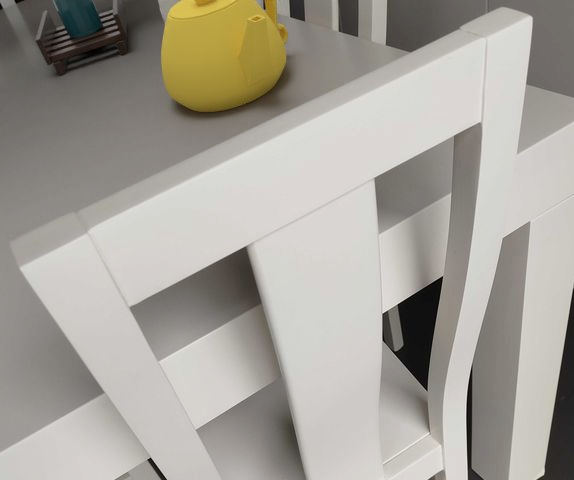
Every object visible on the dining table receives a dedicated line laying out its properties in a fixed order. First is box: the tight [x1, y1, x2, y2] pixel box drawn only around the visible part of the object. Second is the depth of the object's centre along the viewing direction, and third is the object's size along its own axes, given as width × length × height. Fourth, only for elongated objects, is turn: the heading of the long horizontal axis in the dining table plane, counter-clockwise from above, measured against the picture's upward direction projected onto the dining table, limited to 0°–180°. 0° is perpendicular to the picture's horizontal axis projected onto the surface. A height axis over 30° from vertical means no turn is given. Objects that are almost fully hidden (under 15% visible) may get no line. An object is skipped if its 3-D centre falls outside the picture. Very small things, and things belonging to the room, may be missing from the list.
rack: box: [35, 0, 129, 76], centre depth 103 cm, size 14×17×6 cm
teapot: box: [160, 0, 289, 113], centre depth 75 cm, size 20×19×13 cm
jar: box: [157, 0, 182, 24], centre depth 90 cm, size 9×8×12 cm
